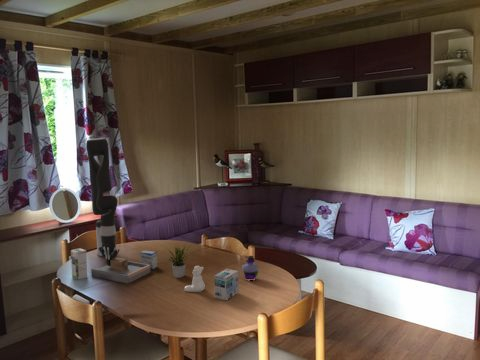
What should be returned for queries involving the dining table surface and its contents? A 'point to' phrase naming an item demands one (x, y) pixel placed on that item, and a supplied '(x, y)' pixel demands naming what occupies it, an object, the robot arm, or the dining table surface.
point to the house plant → (178, 262)
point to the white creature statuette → (196, 281)
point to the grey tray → (122, 272)
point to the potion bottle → (250, 268)
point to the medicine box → (149, 258)
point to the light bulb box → (226, 284)
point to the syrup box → (79, 264)
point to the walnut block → (119, 264)
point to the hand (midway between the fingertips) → (109, 265)
